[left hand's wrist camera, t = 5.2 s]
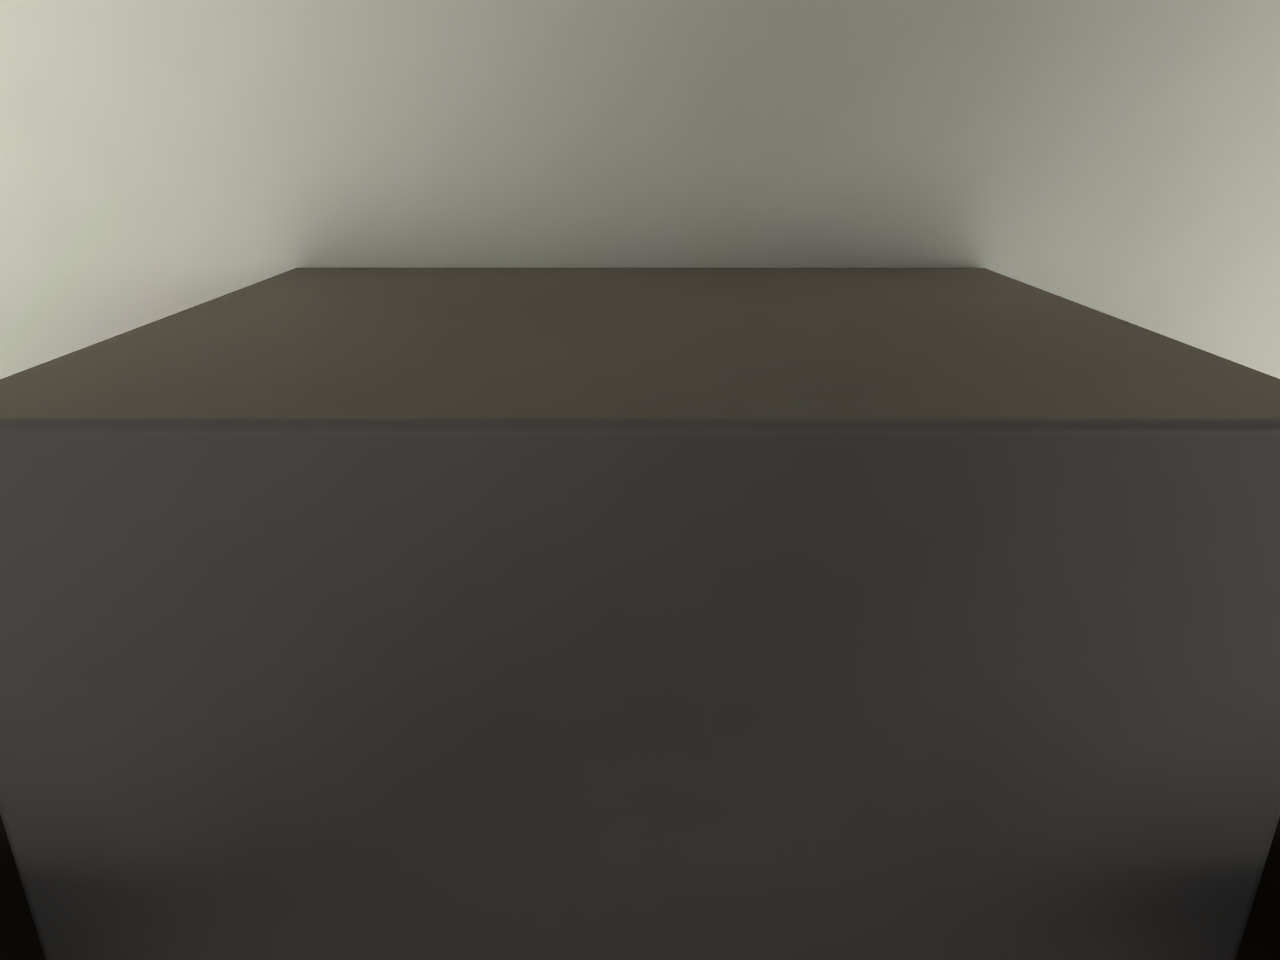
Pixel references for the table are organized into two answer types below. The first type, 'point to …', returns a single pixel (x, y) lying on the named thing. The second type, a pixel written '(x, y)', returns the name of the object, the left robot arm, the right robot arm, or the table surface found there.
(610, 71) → the table surface
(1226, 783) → the thick board
